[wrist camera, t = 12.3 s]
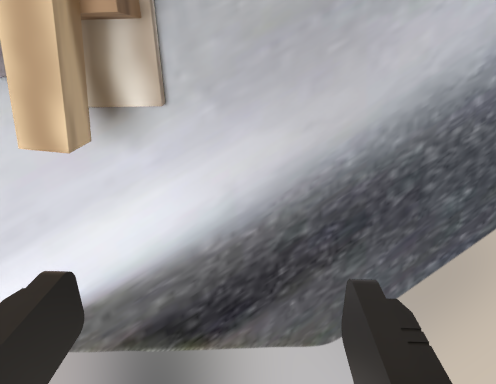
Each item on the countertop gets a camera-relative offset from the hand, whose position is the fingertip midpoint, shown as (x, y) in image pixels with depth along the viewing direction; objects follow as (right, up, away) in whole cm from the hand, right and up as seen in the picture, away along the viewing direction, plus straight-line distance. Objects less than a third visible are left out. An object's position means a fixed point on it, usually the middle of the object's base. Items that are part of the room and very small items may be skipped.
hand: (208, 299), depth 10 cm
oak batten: (-14, +18, +17) cm, 28 cm away
